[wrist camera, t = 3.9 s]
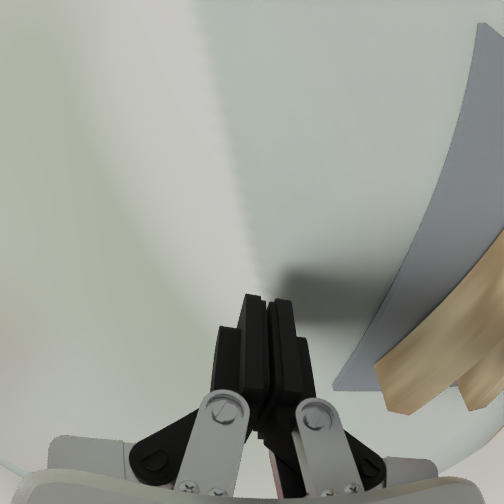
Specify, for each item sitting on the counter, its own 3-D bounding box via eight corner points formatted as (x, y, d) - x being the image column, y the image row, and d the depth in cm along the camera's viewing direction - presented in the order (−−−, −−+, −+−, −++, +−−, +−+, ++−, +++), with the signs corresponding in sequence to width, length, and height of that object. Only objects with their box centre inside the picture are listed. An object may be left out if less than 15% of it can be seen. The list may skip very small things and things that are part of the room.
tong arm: (546, 162, 9) (588, 186, 6) (556, 187, 9) (594, 212, 6) (373, 365, 15) (387, 410, 12) (394, 373, 15) (409, 415, 13)
